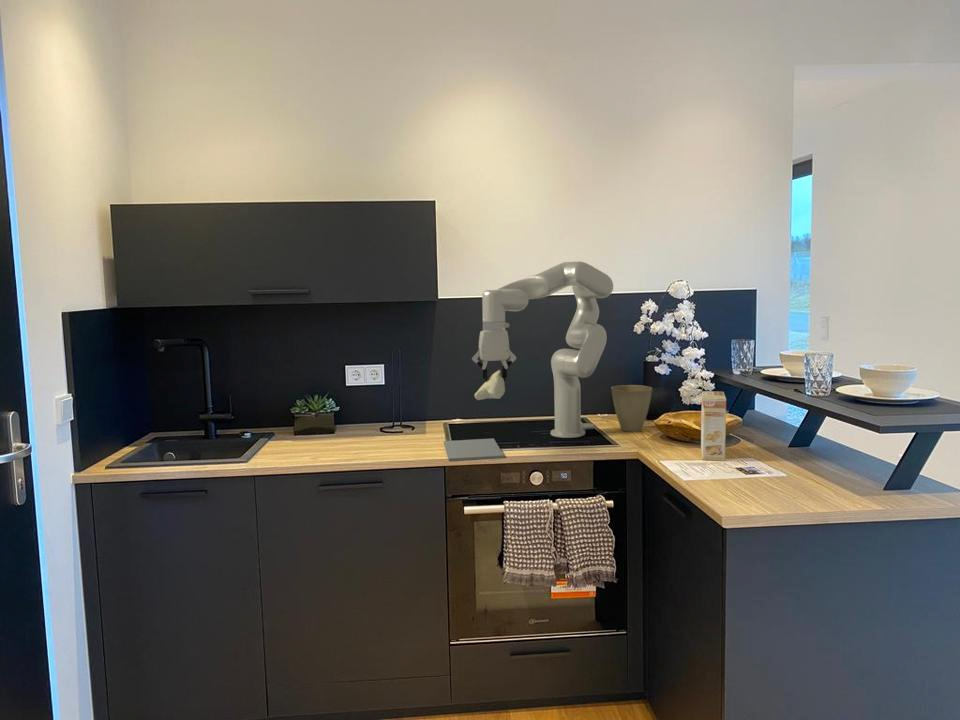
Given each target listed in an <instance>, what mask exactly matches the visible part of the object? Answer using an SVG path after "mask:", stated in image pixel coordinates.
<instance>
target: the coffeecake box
mask: <svg viewBox="0 0 960 720" xmlns="http://www.w3.org/2000/svg"><path fill="white" fill-rule="evenodd" d="M700 413H701V414H700V415H701V417H700V418H701V419H700V421H701V423H700V429H701V430H700V451H701V458H702V461H716V462H718V461H719V462H721V461H722V462H725V461H726V440H727V439H726V436H727V435H726V433H727V431H726V430H727V397H726V395H725V392H724V391H718V390H717V391H716V390H715V391H713V390H705V391H704V390H702V391H701V412H700Z"/></svg>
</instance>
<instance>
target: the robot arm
mask: <svg viewBox="0 0 960 720" xmlns="http://www.w3.org/2000/svg"><path fill="white" fill-rule="evenodd" d="M570 286H571V287H572V292H573V294H574V297H575V300H576V305H577V306H576V311H575V313H574V316H573V318H572V320H571V322H570V325H569V327H568V330H567V332H566V335H565V341H566V344H567V345H568V346H569V347H571V348H573V349H571V348H560V349H558V350H556V351H555V352H554V353H553V354H552V356H551V360H550V365H551V372H552V374H553V386H554V387H553V388H554V393H553V396H554V397H553V398H554V403H553V404H554V429H551V430H550V436H552V437H555V438H562V439H573V438H580V437H583V436H586V431H585V430H593V429H595V425H594V423H589V422H585V423H583V421H582V419H581V415H582V413H581V411H582V409H581V394H582V393H581V392H582V391H581V383H580V379H579V378H588V377H590V376H591V375H592V374H594V372H595V370H596V368H597V365H598V363H599V361H600V359H601V356H602V354H603V352H604V350H605V347H606V344H607V339H608V338H607V337H608V336H607V331H606V329H605V328H604V327H603V325H601V324H599V323H597V321H598V319H599V317H600V316H599V315H600V307H599V305H598V302H597V299H606V298H608V297H609V296H610V295H612V292H613V290H614V283H613V279H612V278H611V276H609V275H608V274H606V273H605V272H603V271H601V270H600V269H598V268H597V267H594V266H592V265H591V264H589V263H587V262H584V261H581V260H580V261H565V262H562V263H559V264H556V265H554V266H552V267H551V268H548V269H545V270H544V271H542V272H539V273H537V274H533V275H530V276H527V277H525V278H522V279H519V280H516V281H512V282H510V283H509V284H506V285H503V286H501V287H499V288H497V289H486V290H484V291H483V292H482V296H481V297H482V298H481V299H482V300H481V301H482V304H481V305H482V308H481V309H482V330H481V331H480V332H479V337H478V338H479V339H478V350H477V352H476V353H475V354H474V355H473V356H472V358H471V360H472V361H473V363H475V364H476V365H478V366H479V367H480V368H481V379H483V381H484V382H486V381H487V380H488V369H487V366H488V362H495V361H497V362H499V361H500V362H501V364H502V368H501V374H502V376H501V377H502V378H503V380H504V382H505V381H506V378H507V379H508V368H509V367H510V366H511V365H512V364H513V363H514V362H516V360H517V356H516V355H515V354H514V353H513V352H512V351H511V349H510V341H509V339H510V338H509V334H508V331H507V330H506V328H507V329H508V328H510V323H509V322H506V312H520V311H523V310H524V309H525V308H526V307H527V306H528V304H529V300H536V299H538V300H539V299H542V298H546V297H547V298H548V297H549V296H551V295H553V294H556V293H558V292H559V291H562V290H564V289H565V288H568V287H570ZM478 358H479V360H478ZM480 360H481V361H482V362H481V361H480Z"/></svg>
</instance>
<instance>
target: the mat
mask: <svg viewBox="0 0 960 720" xmlns="http://www.w3.org/2000/svg"><path fill="white" fill-rule="evenodd" d="M443 446H444V448H445V453H446V455H447V456H446V457H447V460H448V461H449V462H453V461H455V462H456V461H457V462H458V461H471V460H473V461H474V460H487V459H488V460H489V459H491V460H493V459H504V458H505V455H504V453H503V451H502V449H501V448H500V446H499V445H498V443H497V442H496V440H495V438H477V439H475V438H474V439H462V440H444V441H443Z"/></svg>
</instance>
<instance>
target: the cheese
mask: <svg viewBox="0 0 960 720" xmlns="http://www.w3.org/2000/svg"><path fill="white" fill-rule="evenodd" d="M505 385H506V384H505V381H504V380H503V378H502V370H500V369H498V370H497V371H495V372H494V373H492V375H491V376H490V377H489V379H487V381H484V383H483V384H482V385H481V386H480V387H479V388H478V390H477V391H476V392H475V393H474V398H475V399H476V400H477V401H480V400H486V399H498V400H499V399H501V398H502V397H503V396H504V394H505V392H506V386H505Z"/></svg>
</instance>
